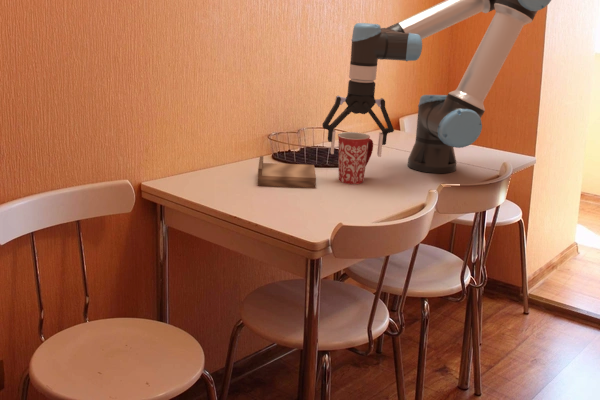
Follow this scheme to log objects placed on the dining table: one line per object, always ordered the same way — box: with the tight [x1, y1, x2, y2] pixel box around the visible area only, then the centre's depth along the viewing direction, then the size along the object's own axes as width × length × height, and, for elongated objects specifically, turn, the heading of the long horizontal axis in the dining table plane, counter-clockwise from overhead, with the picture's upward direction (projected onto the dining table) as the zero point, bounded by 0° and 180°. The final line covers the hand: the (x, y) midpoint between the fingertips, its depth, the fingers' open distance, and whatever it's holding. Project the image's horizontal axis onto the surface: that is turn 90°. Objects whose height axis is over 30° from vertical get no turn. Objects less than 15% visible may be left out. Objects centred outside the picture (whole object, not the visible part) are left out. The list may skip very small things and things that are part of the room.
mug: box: [337, 131, 374, 185], centre depth 202 cm, size 13×9×14 cm
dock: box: [257, 155, 317, 189], centre depth 200 cm, size 16×14×5 cm
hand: (355, 154), depth 201 cm, fingers open, 13 cm apart
